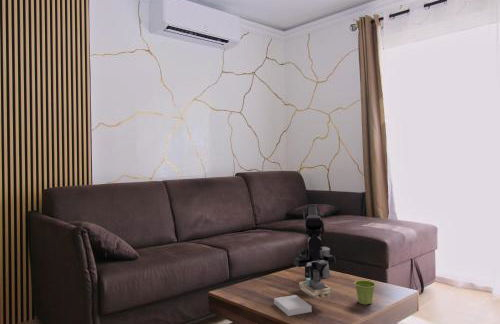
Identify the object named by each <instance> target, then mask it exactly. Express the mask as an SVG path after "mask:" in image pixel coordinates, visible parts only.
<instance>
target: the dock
mask: <svg viewBox="0 0 500 324" xmlns="http://www.w3.org/2000/svg"><path fill="white" fill-rule="evenodd" d="M273 304H274V305H275V306H276V308H279V310H281V311H282V312H283V313H284V314H285V315H286V316H288V317H291V316H297V315H301V314H302V315H303V314H307V313H312V312H313V311H312V310H313V307H312V305H311V304H309V302H307V301H305V300H304V299H302V298H301V297H300V296H298V295H297V294H294V295H287V296H280V297H274V298H273Z"/></svg>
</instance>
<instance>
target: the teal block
mask: <svg viewBox="0 0 500 324" xmlns="http://www.w3.org/2000/svg"><path fill="white" fill-rule="evenodd" d="M305 281H306V285H307V286H309V287H310V278H306V277H305Z"/></svg>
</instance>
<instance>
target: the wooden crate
mask: <svg viewBox="0 0 500 324" xmlns="http://www.w3.org/2000/svg"><path fill="white" fill-rule="evenodd" d="M313 282H319V271H318V270H313V280H311V279H310V287H309V286H307V285H306V280H304V281H299V282H298V285H299V288H300V290H301V291H303V293H306V294H307V295H309V296H310V297H311V298H313V299H314V300H317V299H319V297H320V298H321V299H322V298H325V297H327V298H328V297H331V294H332V288H331V287H330V286H328V285H326V284H325V283H324V289H320V290H314V289H313Z"/></svg>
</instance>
